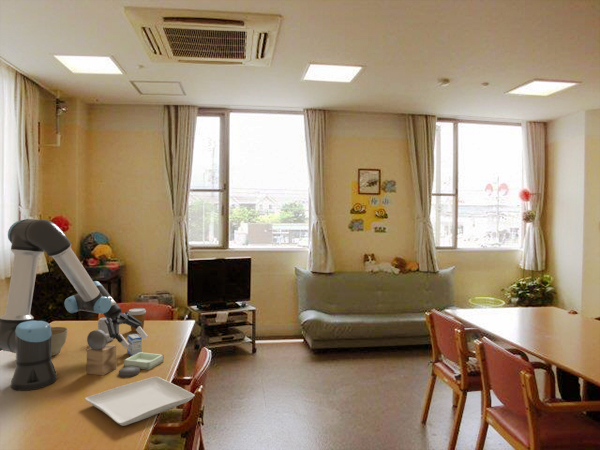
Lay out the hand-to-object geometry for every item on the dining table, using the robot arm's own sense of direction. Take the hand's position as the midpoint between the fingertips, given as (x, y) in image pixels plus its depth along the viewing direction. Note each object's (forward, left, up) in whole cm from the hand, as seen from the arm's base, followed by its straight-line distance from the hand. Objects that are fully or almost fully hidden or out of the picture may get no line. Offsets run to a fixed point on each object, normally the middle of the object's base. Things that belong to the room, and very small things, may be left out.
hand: (136, 342), depth 197 cm
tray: (-10, -12, -6) cm, 17 cm away
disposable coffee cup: (+34, +26, -6) cm, 43 cm away
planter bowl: (-12, +40, -6) cm, 42 cm away
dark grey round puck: (-21, -13, -6) cm, 25 cm away
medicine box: (0, +1, -6) cm, 6 cm away
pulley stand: (-22, 0, -6) cm, 23 cm away
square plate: (-44, -36, -6) cm, 57 cm away
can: (+13, +29, -6) cm, 32 cm away
